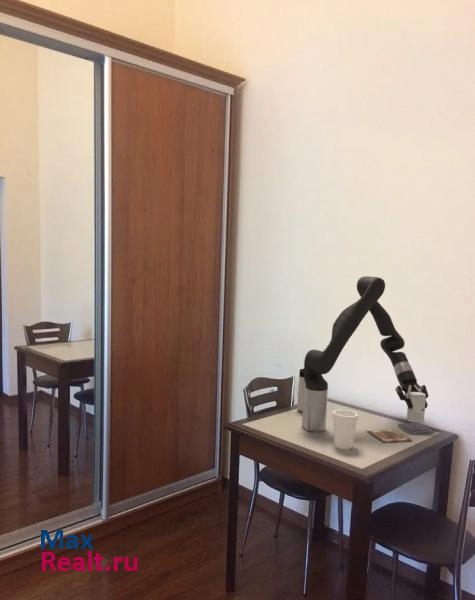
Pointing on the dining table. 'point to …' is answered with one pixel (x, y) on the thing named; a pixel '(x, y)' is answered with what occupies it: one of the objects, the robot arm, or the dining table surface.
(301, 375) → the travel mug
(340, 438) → the foam cup
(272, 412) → the dining table surface
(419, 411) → the skincare box
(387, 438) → the marked board
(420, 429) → the ink pad
